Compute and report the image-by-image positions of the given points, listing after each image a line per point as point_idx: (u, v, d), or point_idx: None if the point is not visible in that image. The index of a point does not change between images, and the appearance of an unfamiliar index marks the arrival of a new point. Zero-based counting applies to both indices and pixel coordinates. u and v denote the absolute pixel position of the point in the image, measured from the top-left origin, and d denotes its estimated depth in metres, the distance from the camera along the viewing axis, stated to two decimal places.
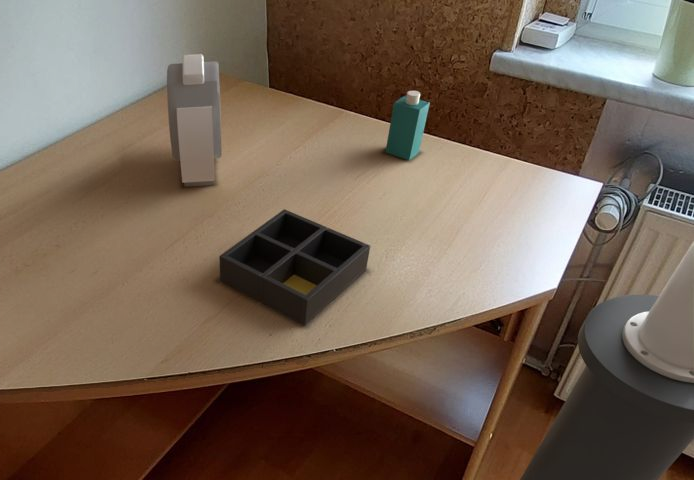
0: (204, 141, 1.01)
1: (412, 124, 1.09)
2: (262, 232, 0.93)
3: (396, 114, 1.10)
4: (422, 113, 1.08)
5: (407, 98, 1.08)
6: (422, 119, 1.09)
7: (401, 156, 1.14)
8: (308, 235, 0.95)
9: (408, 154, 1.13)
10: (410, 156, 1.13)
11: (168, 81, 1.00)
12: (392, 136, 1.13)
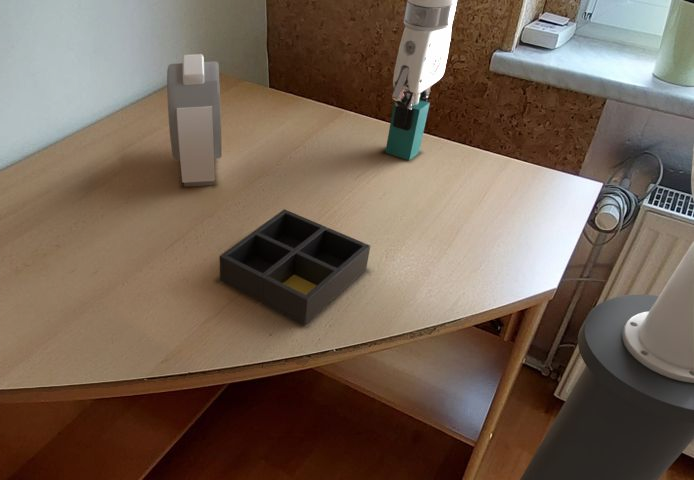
0: (204, 141, 1.01)
1: (412, 124, 1.09)
2: (262, 232, 0.93)
3: None
4: (422, 113, 1.08)
5: None
6: (422, 119, 1.09)
7: (401, 156, 1.14)
8: (308, 235, 0.95)
9: (408, 154, 1.13)
10: (410, 156, 1.13)
11: (168, 81, 1.00)
12: (392, 136, 1.13)
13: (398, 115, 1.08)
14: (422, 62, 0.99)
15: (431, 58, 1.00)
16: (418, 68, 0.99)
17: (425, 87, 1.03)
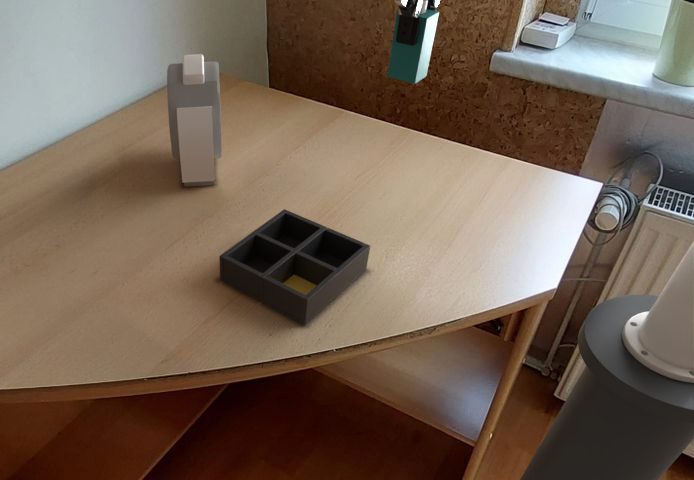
0: (204, 141, 1.01)
1: (418, 37, 0.92)
2: (262, 232, 0.93)
3: None
4: (431, 24, 0.92)
5: None
6: (430, 31, 0.93)
7: (405, 79, 0.97)
8: (308, 235, 0.95)
9: (414, 76, 0.96)
10: (416, 79, 0.96)
11: (168, 81, 1.00)
12: (395, 55, 0.96)
13: (402, 26, 0.92)
14: None
15: None
16: None
17: None
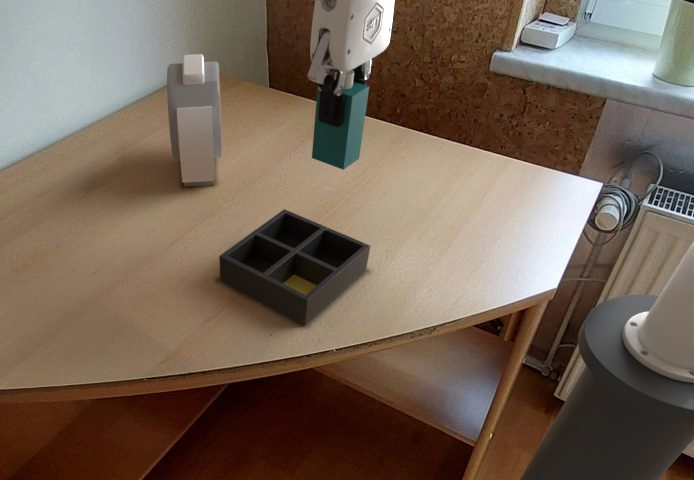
0: (204, 141, 1.01)
1: (343, 117, 0.75)
2: (262, 232, 0.93)
3: None
4: (358, 102, 0.74)
5: (335, 79, 0.74)
6: (358, 110, 0.75)
7: (332, 164, 0.80)
8: (308, 235, 0.95)
9: (341, 160, 0.78)
10: (344, 164, 0.79)
11: (168, 81, 1.00)
12: (319, 135, 0.79)
13: (323, 104, 0.74)
14: (348, 22, 0.65)
15: (363, 17, 0.66)
16: (343, 31, 0.65)
17: (358, 62, 0.69)
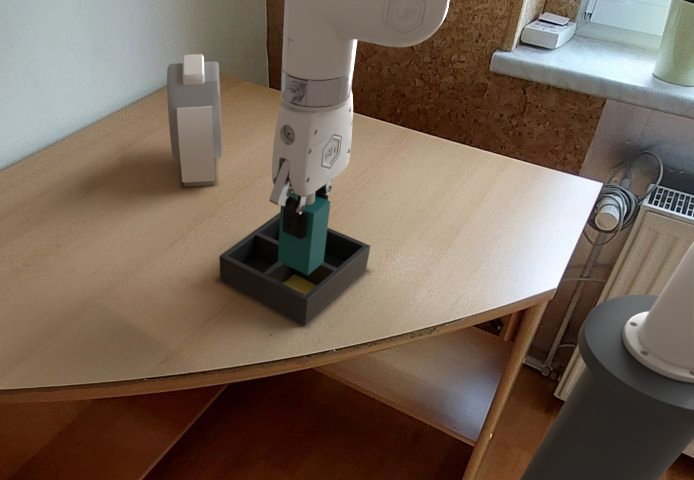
0: (204, 141, 1.01)
1: (306, 230, 0.77)
2: (262, 232, 0.93)
3: None
4: (320, 216, 0.76)
5: None
6: (321, 223, 0.77)
7: (297, 269, 0.82)
8: None
9: (306, 267, 0.81)
10: (309, 270, 0.81)
11: (168, 81, 1.00)
12: (284, 242, 0.81)
13: (286, 219, 0.77)
14: (306, 156, 0.67)
15: (321, 148, 0.68)
16: (301, 164, 0.68)
17: (317, 186, 0.72)
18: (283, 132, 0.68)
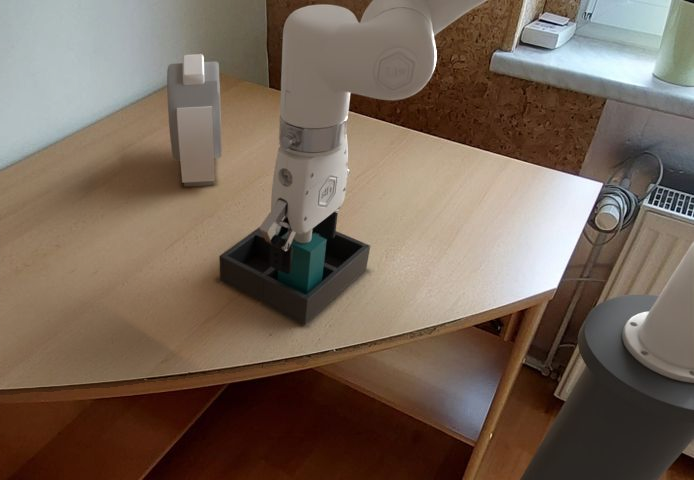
0: (204, 141, 1.01)
1: (303, 267, 0.81)
2: None
3: None
4: (317, 254, 0.81)
5: (295, 234, 0.80)
6: (317, 260, 0.81)
7: None
8: None
9: None
10: None
11: (168, 81, 1.00)
12: (282, 276, 0.85)
13: (272, 255, 0.78)
14: (303, 197, 0.71)
15: (317, 189, 0.72)
16: (299, 204, 0.71)
17: (314, 223, 0.75)
18: (281, 174, 0.72)
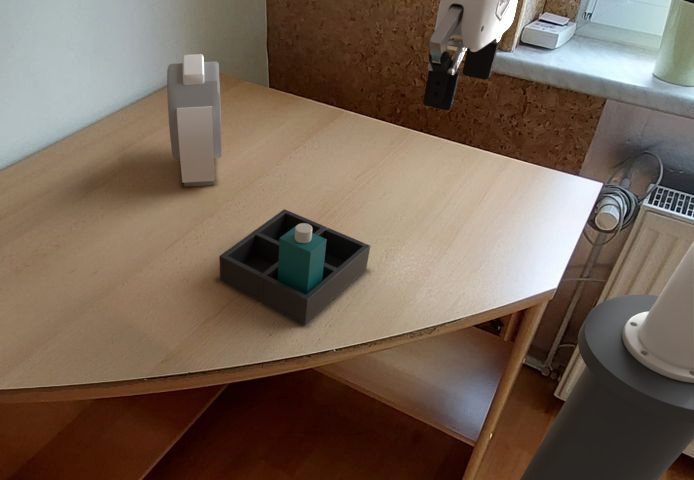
0: (204, 141, 1.01)
1: (303, 267, 0.81)
2: (262, 232, 0.93)
3: (284, 252, 0.82)
4: (317, 254, 0.81)
5: (295, 234, 0.80)
6: (317, 260, 0.81)
7: None
8: None
9: None
10: None
11: (168, 81, 1.00)
12: (282, 276, 0.85)
13: (432, 86, 0.67)
14: None
15: None
16: (479, 6, 0.61)
17: (487, 40, 0.64)
18: None
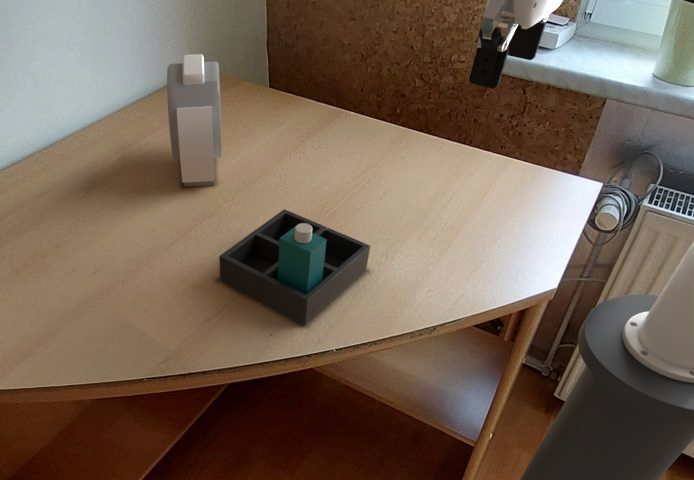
0: (204, 141, 1.01)
1: (303, 267, 0.81)
2: (262, 232, 0.93)
3: (284, 252, 0.82)
4: (317, 254, 0.81)
5: (295, 234, 0.80)
6: (317, 260, 0.81)
7: None
8: None
9: None
10: None
11: (168, 81, 1.00)
12: (282, 276, 0.85)
13: (480, 63, 0.67)
14: None
15: None
16: None
17: (538, 18, 0.64)
18: None
